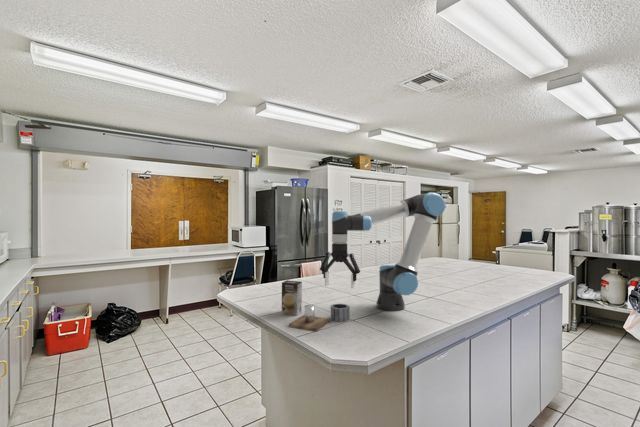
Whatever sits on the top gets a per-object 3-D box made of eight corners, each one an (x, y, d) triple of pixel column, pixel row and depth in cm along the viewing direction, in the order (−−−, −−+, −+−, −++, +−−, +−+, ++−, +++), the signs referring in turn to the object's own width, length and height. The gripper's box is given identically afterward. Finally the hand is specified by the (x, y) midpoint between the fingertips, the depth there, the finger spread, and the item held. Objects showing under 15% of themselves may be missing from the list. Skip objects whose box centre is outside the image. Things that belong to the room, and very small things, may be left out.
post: (316, 320, 145) (316, 305, 145) (311, 323, 141) (311, 308, 141) (307, 319, 147) (307, 304, 147) (303, 322, 143) (303, 306, 143)
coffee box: (280, 313, 159) (280, 282, 160) (286, 310, 166) (286, 280, 166) (297, 315, 156) (297, 283, 157) (302, 312, 163) (302, 281, 163)
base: (329, 321, 148) (329, 318, 148) (316, 331, 135) (316, 328, 135) (303, 317, 154) (303, 315, 154) (288, 326, 141) (288, 323, 141)
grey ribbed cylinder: (351, 317, 154) (351, 304, 154) (345, 322, 146) (345, 309, 146) (335, 314, 158) (334, 302, 158) (327, 320, 150) (327, 307, 150)
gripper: (366, 243, 150) (366, 287, 150) (319, 241, 161) (319, 282, 161) (361, 244, 144) (361, 290, 143) (313, 242, 154) (313, 285, 154)
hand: (339, 286), depth 152 cm, fingers open, 13 cm apart
